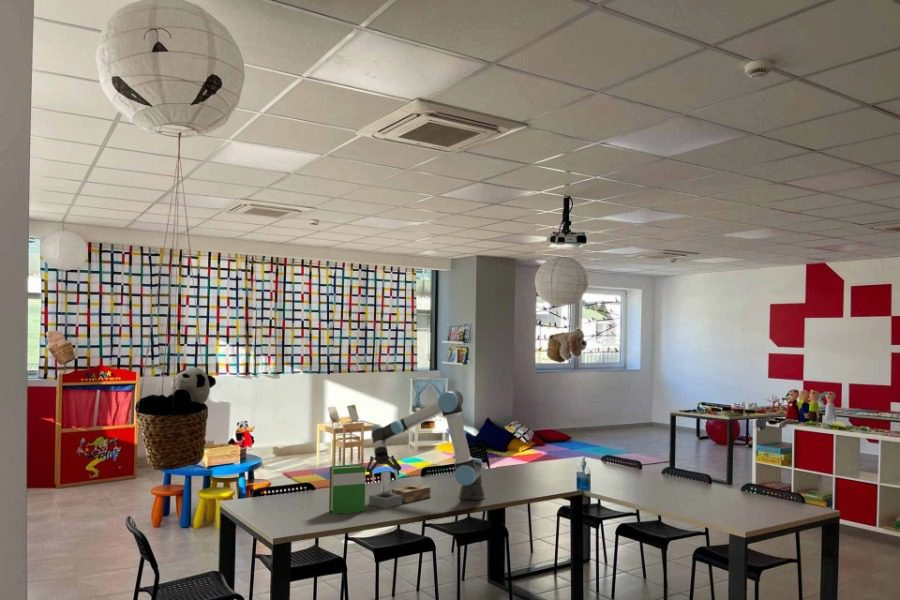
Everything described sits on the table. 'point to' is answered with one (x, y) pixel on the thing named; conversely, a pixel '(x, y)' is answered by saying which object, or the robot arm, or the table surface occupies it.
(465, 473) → the robot arm
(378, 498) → the socket
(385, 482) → the translucent white cylinder
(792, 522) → the table surface
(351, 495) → the hardback book
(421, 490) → the tan hollow box
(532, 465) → the table surface
